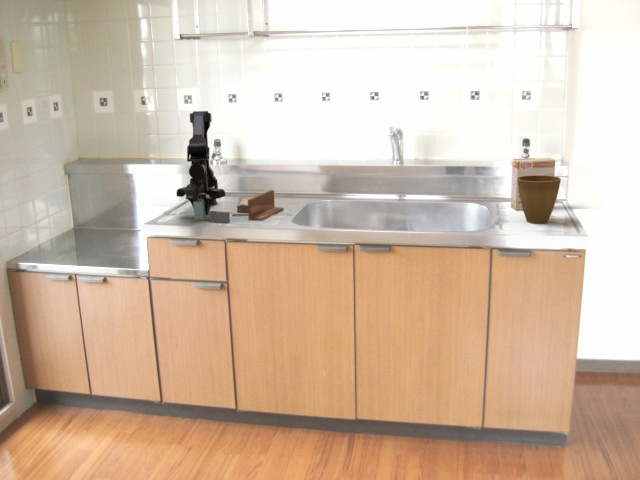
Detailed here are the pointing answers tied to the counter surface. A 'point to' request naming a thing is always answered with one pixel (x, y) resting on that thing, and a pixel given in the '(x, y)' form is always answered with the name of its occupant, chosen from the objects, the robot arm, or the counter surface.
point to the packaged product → (241, 208)
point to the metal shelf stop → (219, 217)
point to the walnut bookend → (262, 206)
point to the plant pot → (538, 196)
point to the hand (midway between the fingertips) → (202, 214)
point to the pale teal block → (200, 210)
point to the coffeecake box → (528, 174)
